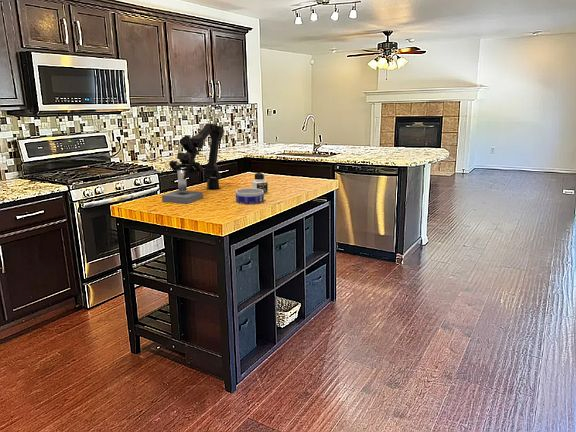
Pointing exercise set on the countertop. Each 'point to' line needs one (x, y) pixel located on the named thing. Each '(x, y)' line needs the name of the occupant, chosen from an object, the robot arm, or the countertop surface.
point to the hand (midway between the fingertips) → (180, 178)
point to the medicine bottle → (260, 182)
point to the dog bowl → (249, 195)
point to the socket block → (182, 196)
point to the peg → (181, 180)
